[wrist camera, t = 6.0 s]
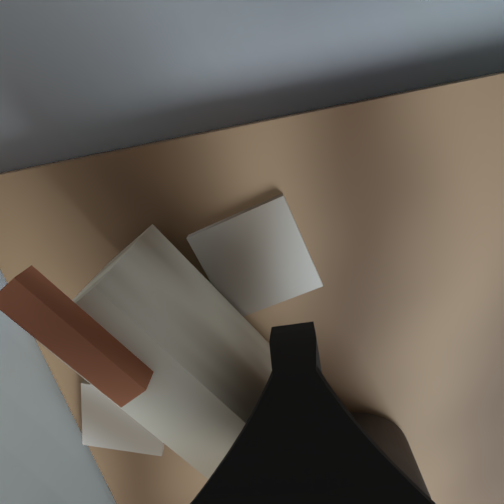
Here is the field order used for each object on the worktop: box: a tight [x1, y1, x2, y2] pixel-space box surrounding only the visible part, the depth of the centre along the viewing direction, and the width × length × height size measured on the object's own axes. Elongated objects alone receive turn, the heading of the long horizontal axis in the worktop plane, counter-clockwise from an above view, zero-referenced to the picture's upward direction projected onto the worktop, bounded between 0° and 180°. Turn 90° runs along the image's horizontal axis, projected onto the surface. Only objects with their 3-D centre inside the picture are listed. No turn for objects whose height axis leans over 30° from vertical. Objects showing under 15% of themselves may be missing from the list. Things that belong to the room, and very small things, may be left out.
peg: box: [0, 224, 431, 498], centre depth 10 cm, size 14×4×5 cm, turn 40°
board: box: [0, 71, 504, 504], centre depth 13 cm, size 20×20×1 cm
